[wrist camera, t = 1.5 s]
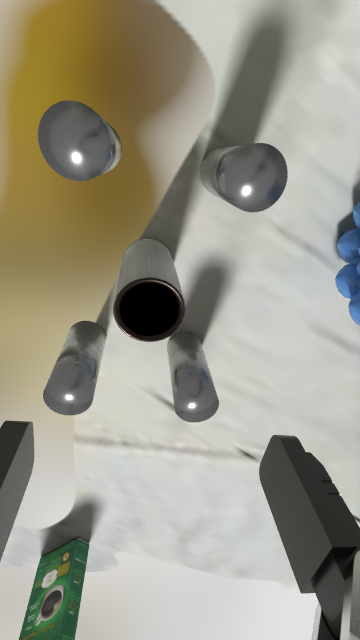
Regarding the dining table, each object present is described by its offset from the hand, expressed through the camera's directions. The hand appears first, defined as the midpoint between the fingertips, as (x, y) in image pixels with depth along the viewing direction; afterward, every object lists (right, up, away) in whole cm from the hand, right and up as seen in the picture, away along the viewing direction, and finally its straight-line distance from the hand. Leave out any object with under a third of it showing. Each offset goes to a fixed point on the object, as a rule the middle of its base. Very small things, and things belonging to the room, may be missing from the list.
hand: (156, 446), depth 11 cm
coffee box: (-17, -31, +38) cm, 52 cm away
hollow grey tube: (-2, +10, +18) cm, 21 cm away
